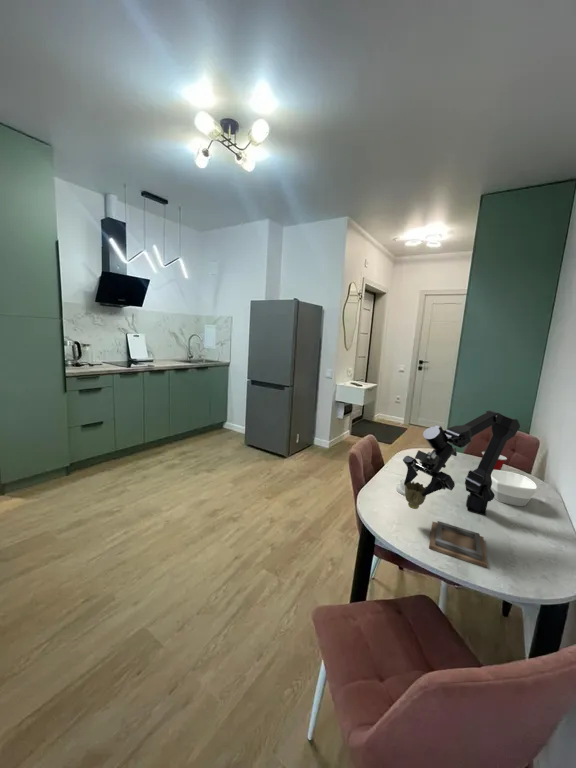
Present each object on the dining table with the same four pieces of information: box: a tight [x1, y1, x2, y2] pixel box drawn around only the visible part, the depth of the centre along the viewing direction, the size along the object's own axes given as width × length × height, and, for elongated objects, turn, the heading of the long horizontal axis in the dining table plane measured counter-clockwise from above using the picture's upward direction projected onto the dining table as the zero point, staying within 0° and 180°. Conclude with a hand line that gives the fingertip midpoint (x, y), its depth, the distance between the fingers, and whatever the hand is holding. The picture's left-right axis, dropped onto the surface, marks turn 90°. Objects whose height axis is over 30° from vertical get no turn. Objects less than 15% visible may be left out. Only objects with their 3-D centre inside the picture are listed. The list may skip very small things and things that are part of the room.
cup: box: [404, 481, 427, 510], centre depth 118 cm, size 8×7×8 cm
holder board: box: [428, 520, 488, 569], centre depth 110 cm, size 16×16×2 cm
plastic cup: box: [481, 451, 508, 470], centre depth 166 cm, size 11×11×12 cm
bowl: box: [491, 469, 538, 507], centre depth 145 cm, size 18×18×9 cm
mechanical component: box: [395, 479, 417, 496], centre depth 143 cm, size 10×4×10 cm
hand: (413, 490), depth 117 cm, fingers closed on cup, 7 cm apart
